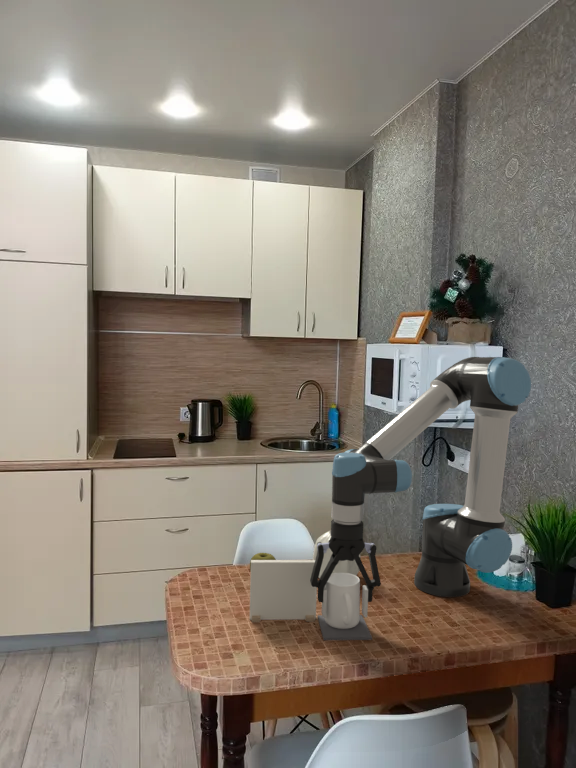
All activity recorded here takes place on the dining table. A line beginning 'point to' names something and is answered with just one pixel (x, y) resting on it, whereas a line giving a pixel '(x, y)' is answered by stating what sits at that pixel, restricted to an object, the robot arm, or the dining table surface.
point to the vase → (342, 565)
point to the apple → (262, 557)
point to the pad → (345, 631)
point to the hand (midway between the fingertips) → (344, 614)
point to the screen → (282, 590)
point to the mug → (343, 600)
